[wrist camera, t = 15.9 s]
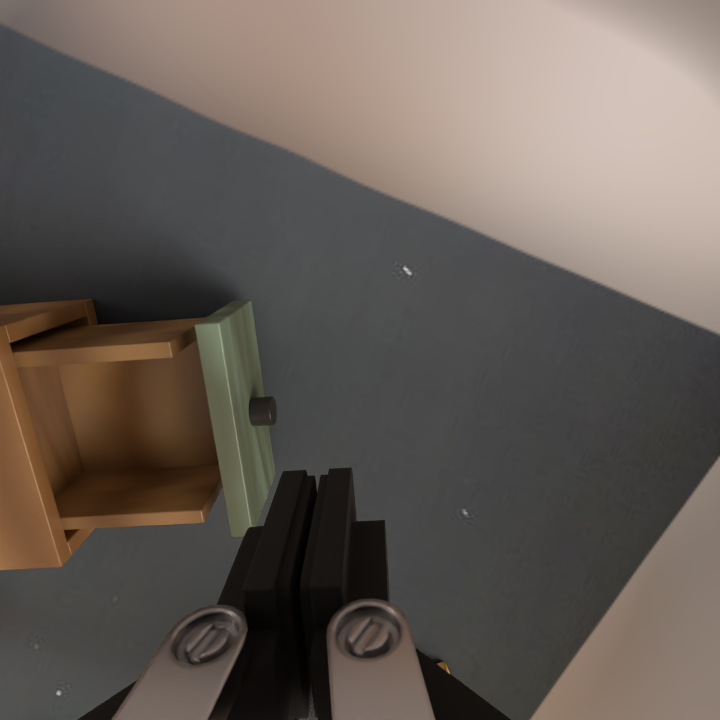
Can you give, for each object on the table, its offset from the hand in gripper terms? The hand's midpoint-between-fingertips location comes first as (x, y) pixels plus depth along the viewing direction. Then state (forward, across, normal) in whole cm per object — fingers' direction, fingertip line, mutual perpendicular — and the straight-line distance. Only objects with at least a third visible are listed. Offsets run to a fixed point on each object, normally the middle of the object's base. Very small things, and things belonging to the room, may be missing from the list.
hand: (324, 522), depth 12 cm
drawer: (+18, +11, +3) cm, 21 cm away
